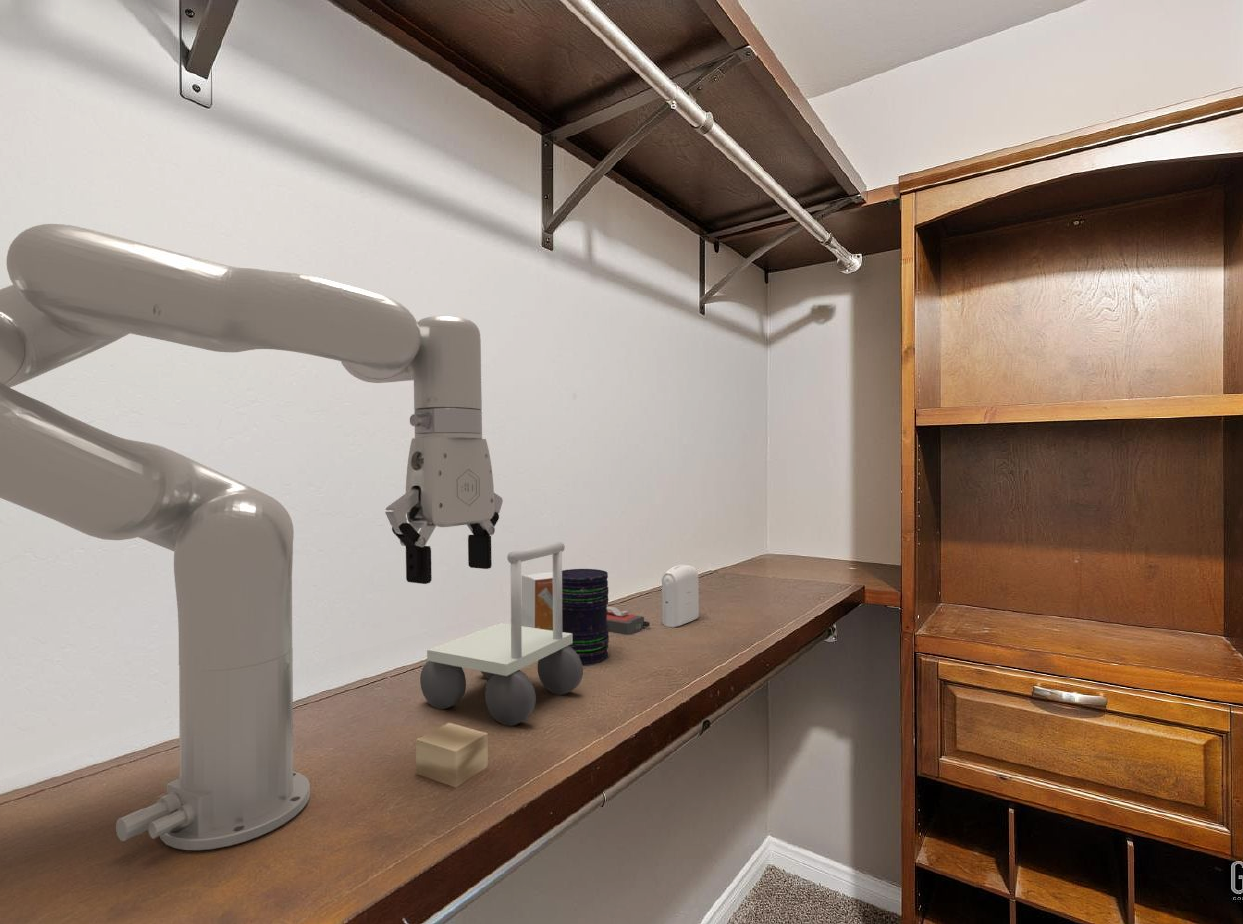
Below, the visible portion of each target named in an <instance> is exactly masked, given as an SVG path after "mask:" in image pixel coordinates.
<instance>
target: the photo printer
mask: <svg viewBox="0 0 1243 924" xmlns="http://www.w3.org/2000/svg"><path fill="white" fill-rule="evenodd" d="M699 582H700V581H699V572H698V569H697V568H695V567H694V566H693V565H688V564H677V565H675V566H673V567H671V568H670V569H668V570H666V572H665V573H663V575H662V578H661V606H662V607H661V612H662V614H661V615H662V617H661V619H662V624H663V625H664V626H665V627H668V628H676V627H681V626H682V625H685V624H687V623H690V622H692V621H695V620H697V619H699V615H700V602H699V601H700V598H699V597H700V595H699V593H700V591H699V588H700V587H699Z"/></svg>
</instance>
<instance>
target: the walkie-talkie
mask: <svg viewBox="0 0 1243 924" xmlns="http://www.w3.org/2000/svg"><path fill="white" fill-rule="evenodd" d="M607 625H608V629H609V632H608V633H614V634H620V635H624V636H625V635H626V636H631V635H633V634H636V633H637V632H640V631H643V630H644V629H645V628H647V627H651V626H650V622H649V621H645V617H644V616H643V615H642V616H641V615H635V614H630V613H629V611H628V610H623V611H621V610H619V609H618V608H617V607H613V606H607Z"/></svg>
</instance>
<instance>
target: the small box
mask: <svg viewBox="0 0 1243 924" xmlns="http://www.w3.org/2000/svg"><path fill="white" fill-rule="evenodd" d="M521 626H524V627H530V628H537V629H544V630H551V631H553V571H548V572H538V573H532V574H530V573H529V574H521Z"/></svg>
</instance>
